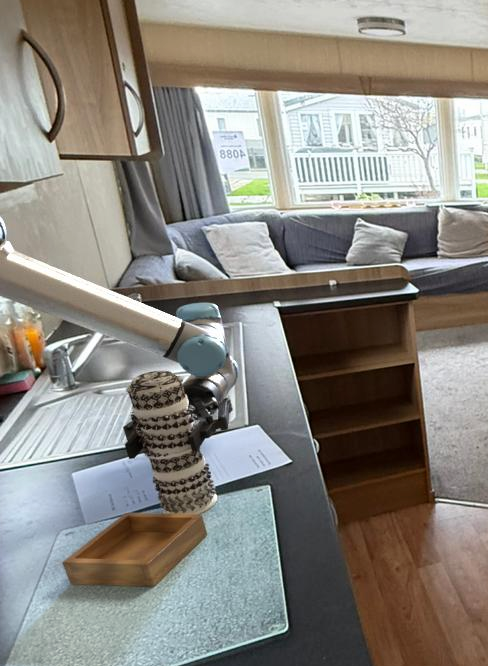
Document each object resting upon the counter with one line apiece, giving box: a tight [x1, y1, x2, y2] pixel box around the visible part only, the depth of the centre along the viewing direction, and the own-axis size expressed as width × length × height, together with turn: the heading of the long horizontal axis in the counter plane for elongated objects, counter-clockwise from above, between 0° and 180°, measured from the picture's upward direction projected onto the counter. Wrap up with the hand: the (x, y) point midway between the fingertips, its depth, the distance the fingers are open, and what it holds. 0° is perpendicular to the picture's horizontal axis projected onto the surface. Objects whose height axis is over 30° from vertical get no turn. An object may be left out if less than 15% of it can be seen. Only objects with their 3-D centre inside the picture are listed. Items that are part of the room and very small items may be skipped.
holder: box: [61, 512, 208, 588], centre depth 102 cm, size 13×13×4 cm
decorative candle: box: [125, 370, 218, 515], centre depth 112 cm, size 9×9×25 cm
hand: (161, 447), depth 107 cm, fingers closed on decorative candle, 8 cm apart
